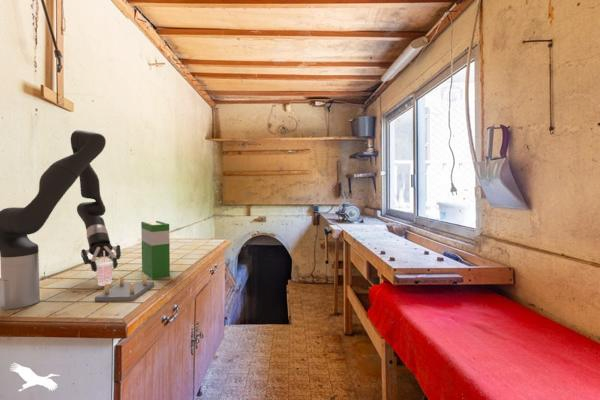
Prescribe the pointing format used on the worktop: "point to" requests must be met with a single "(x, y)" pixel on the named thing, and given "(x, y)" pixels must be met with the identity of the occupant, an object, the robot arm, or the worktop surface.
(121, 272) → the worktop surface
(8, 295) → the robot arm
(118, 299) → the chassis
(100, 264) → the beverage cup
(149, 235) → the hardback book
